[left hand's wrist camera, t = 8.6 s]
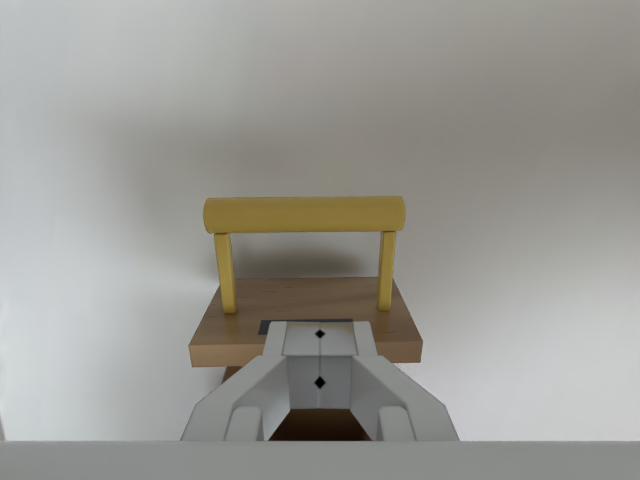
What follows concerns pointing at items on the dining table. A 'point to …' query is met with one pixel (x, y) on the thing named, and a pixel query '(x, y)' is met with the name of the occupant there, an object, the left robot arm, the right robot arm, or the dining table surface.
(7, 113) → the dining table surface
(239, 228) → the drawer
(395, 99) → the dining table surface
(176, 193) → the dining table surface
